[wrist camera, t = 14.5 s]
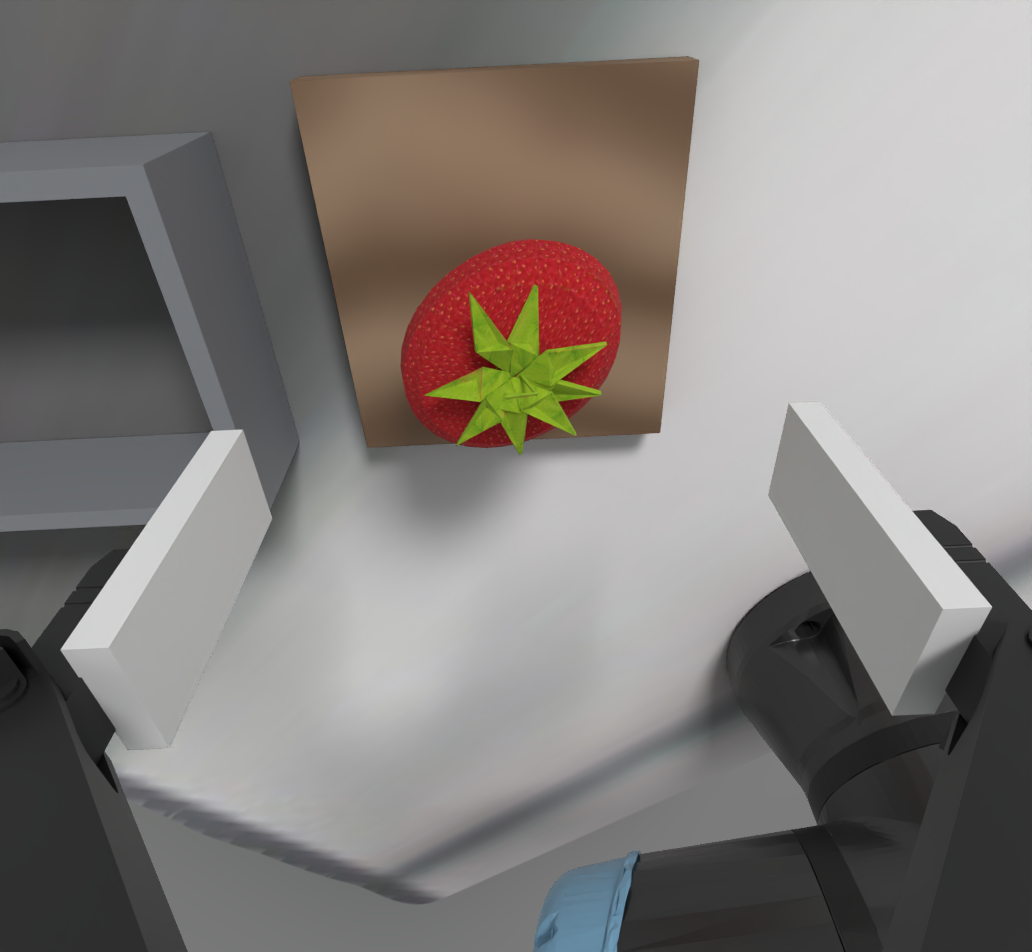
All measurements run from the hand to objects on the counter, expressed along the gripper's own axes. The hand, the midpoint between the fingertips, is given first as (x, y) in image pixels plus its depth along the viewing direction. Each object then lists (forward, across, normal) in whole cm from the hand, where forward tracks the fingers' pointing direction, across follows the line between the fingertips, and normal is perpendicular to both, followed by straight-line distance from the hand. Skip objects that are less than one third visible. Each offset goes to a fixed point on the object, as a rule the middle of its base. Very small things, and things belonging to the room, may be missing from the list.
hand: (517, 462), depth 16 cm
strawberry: (+11, 0, -1) cm, 11 cm away
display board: (+13, 0, -1) cm, 13 cm away
